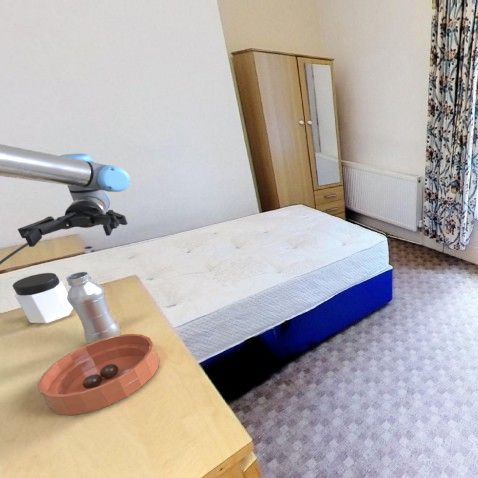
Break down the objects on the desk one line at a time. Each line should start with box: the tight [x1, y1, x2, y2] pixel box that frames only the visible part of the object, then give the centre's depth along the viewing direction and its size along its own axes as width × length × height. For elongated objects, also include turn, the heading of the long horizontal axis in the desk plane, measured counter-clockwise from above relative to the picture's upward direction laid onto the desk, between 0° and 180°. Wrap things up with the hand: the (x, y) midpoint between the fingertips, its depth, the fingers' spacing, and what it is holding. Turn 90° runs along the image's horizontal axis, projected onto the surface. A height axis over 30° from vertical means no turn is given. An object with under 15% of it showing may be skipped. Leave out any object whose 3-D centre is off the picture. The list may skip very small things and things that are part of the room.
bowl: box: [37, 333, 160, 416], centre depth 72 cm, size 18×18×6 cm
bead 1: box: [83, 374, 102, 389], centre depth 70 cm, size 3×3×3 cm
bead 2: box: [100, 364, 118, 378], centre depth 73 cm, size 3×3×3 cm
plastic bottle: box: [66, 271, 122, 344], centre depth 81 cm, size 6×7×20 cm
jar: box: [12, 272, 74, 324], centre depth 91 cm, size 9×8×12 cm
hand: (69, 236), depth 80 cm, fingers open, 13 cm apart
